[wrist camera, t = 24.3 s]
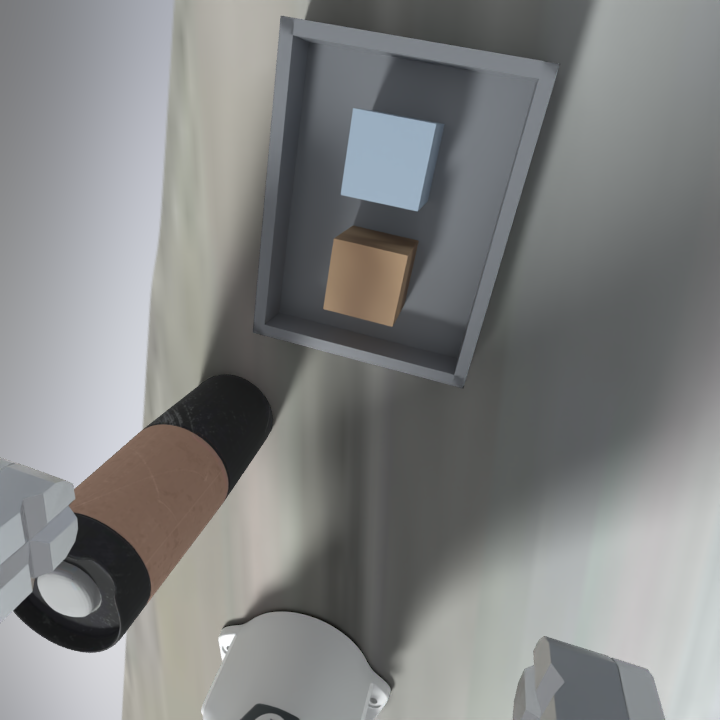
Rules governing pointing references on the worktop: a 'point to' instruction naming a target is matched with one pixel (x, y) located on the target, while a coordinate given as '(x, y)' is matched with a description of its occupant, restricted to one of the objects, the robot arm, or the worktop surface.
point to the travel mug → (147, 513)
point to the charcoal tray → (428, 225)
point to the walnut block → (369, 274)
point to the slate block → (391, 159)
